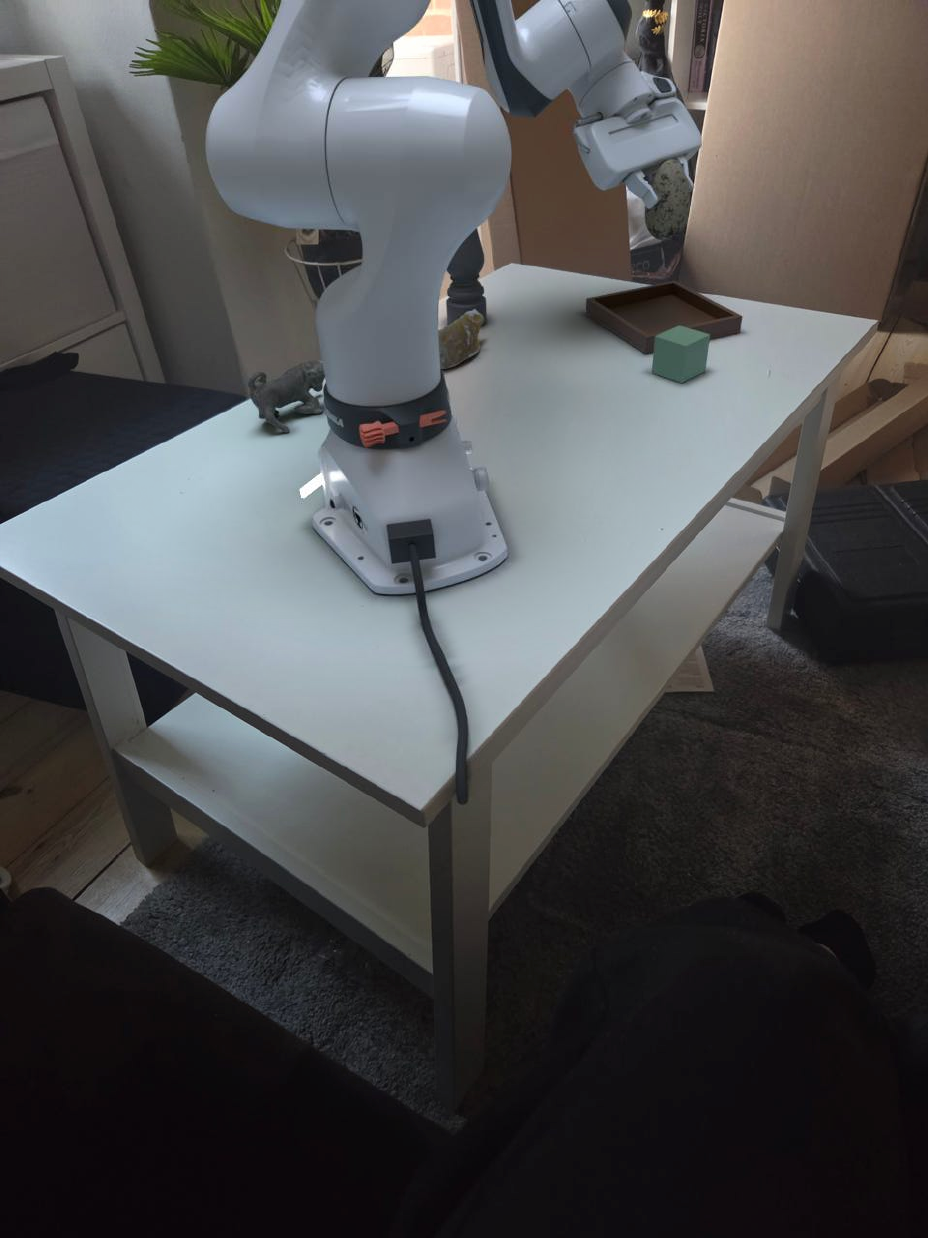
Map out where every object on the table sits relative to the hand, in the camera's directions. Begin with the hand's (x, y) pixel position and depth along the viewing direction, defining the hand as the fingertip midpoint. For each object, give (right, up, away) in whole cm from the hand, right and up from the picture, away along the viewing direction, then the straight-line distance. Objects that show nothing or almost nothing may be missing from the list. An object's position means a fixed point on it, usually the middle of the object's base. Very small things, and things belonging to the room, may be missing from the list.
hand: (672, 198), depth 113 cm
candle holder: (-27, -11, +17) cm, 34 cm away
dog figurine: (-49, -30, -4) cm, 58 cm away
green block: (+1, -24, -1) cm, 24 cm away
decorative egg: (0, -4, +4) cm, 6 cm away
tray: (+1, -12, +12) cm, 18 cm away
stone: (-30, -19, +8) cm, 36 cm away
